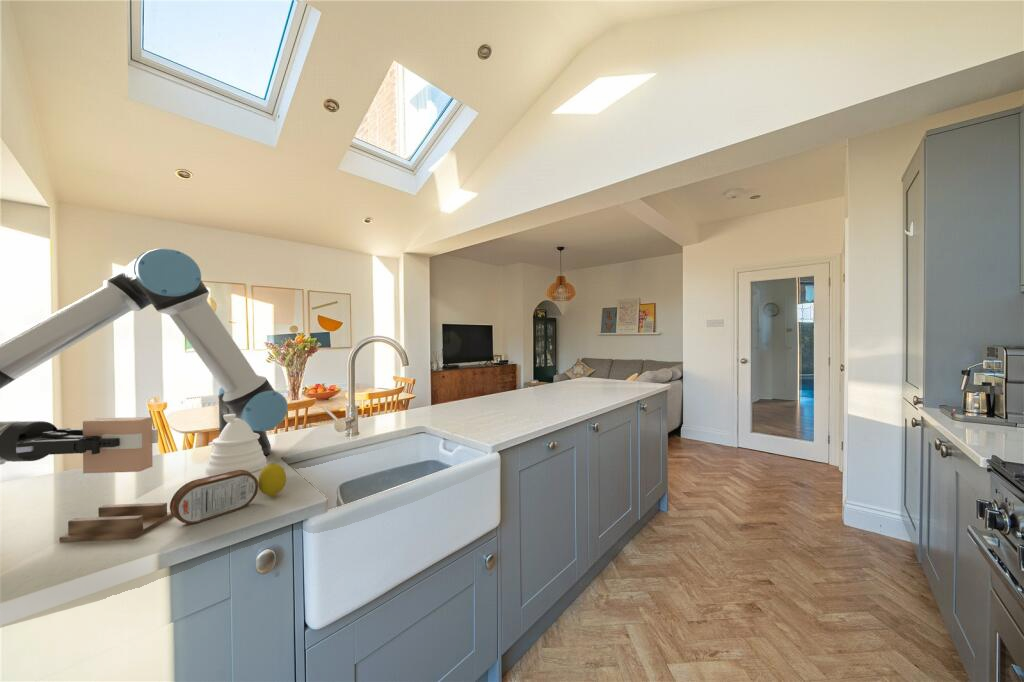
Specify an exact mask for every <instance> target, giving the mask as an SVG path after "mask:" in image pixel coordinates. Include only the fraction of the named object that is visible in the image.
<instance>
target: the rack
mask: <svg viewBox="0 0 1024 682" xmlns="http://www.w3.org/2000/svg"><path fill="white" fill-rule="evenodd" d="M97 513H98V516H96V517H95V516H93V517H75V518H72V519H69V520H68V522H67V527H68V528H67V529H68V531H67V533H65V534H64V535H61V536H59V537H58V538H59V539H58V542H60V543H63V542H84V541H85V542H86V541H87V540H90V541H105V540H107V541H109V540H129V539H131V540H133V539H137V538H139V537H141V536H143V535H144V534H146V533H147V532H149V531H151V530H152V529H154V528H156V527H157V526H159V525H161V524H163V523H165V522H166V521H168V520H170V519H171V518H173V517H174V516H173V515H172V514H171V511H169V512H168V502H152V503H151V502H150V503H148V502H147V503H127V504H126V503H122V504H104V505H102V506H98V512H97ZM87 542H88V541H87Z"/></svg>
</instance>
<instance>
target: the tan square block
mask: <svg viewBox="0 0 1024 682" xmlns="http://www.w3.org/2000/svg"><path fill="white" fill-rule="evenodd" d="M82 429H83V436H100V439H102V435H105V434H142V448H138V449H102V447H100V453H98V454H92V450H86V451H87V452H84V453H82V474H103V473H104V474H107V473H111V474H112V473H138V472H139V473H140V472H142V471H145V470H147V469H150V468H152V467H153V443H152V429H153V416H151V417H150V416H145V417H138V416H137V417H135V416H134V417H97V418H96V417H95V418H92V419H88V420H82Z"/></svg>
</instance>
